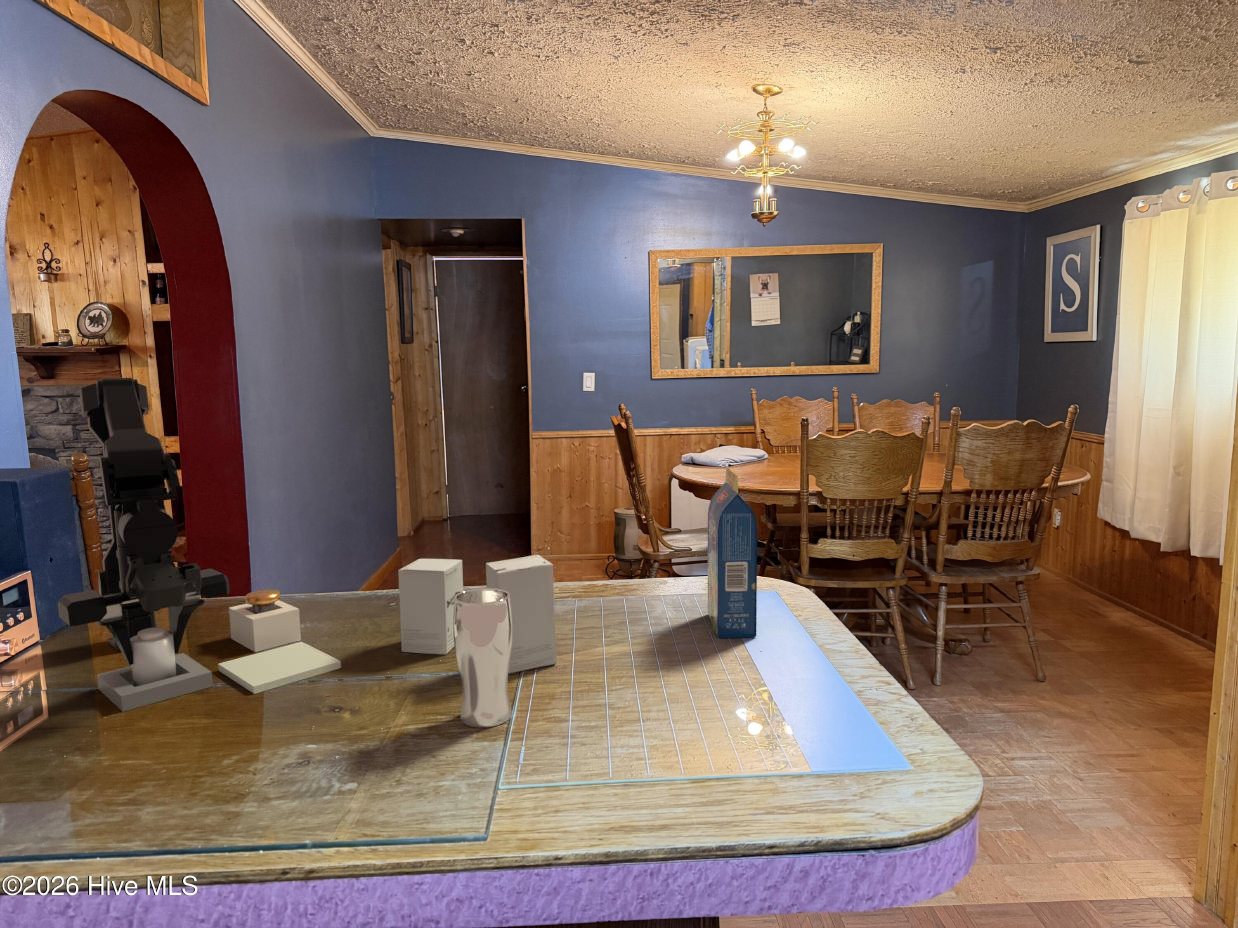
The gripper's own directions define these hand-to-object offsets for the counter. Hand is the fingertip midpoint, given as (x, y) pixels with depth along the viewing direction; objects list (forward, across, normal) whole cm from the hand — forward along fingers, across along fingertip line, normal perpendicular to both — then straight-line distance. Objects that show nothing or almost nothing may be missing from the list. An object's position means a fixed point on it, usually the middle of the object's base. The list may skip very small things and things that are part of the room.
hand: (153, 658), depth 107 cm
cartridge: (+3, 0, 0) cm, 3 cm away
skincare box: (+4, +38, -30) cm, 49 cm away
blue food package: (+4, +71, -42) cm, 83 cm away
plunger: (+2, +18, +8) cm, 20 cm away
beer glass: (+4, +24, -40) cm, 47 cm away
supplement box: (+4, +34, -14) cm, 37 cm away
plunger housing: (+4, +18, +8) cm, 20 cm away
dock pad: (+4, +14, -6) cm, 16 cm away
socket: (+4, 0, 0) cm, 4 cm away
